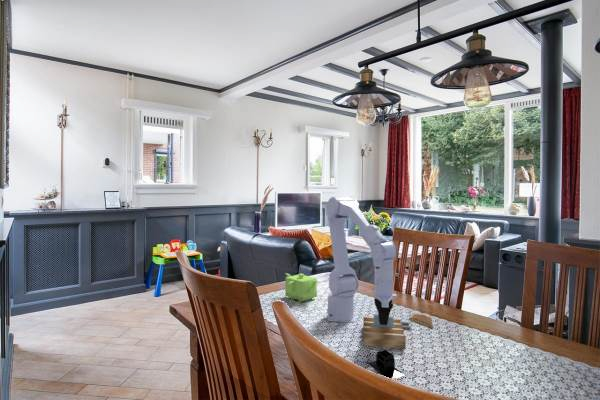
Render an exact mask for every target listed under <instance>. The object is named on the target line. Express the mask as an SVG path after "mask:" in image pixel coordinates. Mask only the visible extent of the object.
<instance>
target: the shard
mask: <svg viewBox="0 0 600 400" xmlns="http://www.w3.org/2000/svg"><path fill="white" fill-rule="evenodd" d="M409 320H410V321H412V322H415V323H418V324H420V325H422V326H425V327H428V328H430V329H434V328H433V327H434V325H433V318H432V317H431V316H429V315H426V314H420V313H419V314H418V313H412V314H411V316H410V317H409Z"/></svg>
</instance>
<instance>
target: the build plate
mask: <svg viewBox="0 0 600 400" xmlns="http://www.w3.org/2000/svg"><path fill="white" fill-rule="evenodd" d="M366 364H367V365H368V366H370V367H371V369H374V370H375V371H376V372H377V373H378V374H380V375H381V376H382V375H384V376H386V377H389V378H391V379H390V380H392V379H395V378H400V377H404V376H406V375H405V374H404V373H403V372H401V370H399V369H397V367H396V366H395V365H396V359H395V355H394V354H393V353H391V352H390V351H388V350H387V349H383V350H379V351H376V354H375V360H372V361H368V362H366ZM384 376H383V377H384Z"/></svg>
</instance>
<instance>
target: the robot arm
mask: <svg viewBox="0 0 600 400" xmlns="http://www.w3.org/2000/svg"><path fill="white" fill-rule="evenodd" d="M359 206H360V205H359V202H358V201H357V199H356V198H355V197H354V196H349V197H345V196H344V197H336V196H332V197H330V198H329V199H328V201H327V202H326V204H325V208H326V216H327V221H328V225H329V233H330V235H329V236H330V243H331V249H332V256H333V265H334V268H333V269H332V270H331V271H330V273H329V274H328V276H329V280H328V281H329V282H328V288H329V289H328V290H329V291H330V293H328V295H327V296H328V297H327V309H326V314H327V322H337V323H338V322H339V323H341V322H342V323H355V321H356V319H355V317H356V316H355V313H354V309H355V307H354V305H355V304H354V303H355V302H354V301H355V300H354V299H355V297H354V296H355V295H356V292H357V291H358V290H359V287H360V281H359V279H358V277H357V273H356V270H355V269H353V268H352V267H351V266H350V260H349V253H348V247H347V241H346V240H347V239H346V231H345V222H347V221H348V220H349V219H350V220H351V221H352V222H353V224H355V226H356V227H357V228H358V229H359V230H360V237H361V238H362V239H363V241H365V244H366V245H367V247H369V249H370V257H372V264H373V266H374V292H373V297H374V299H373V301H374V305H375V308H376V310H377V313H378V314H377V315H379V322H380V325H387V323H388V319H389V315H391V311H392V309H393V308H394V303H393V299H396V298H398V294H396V293H394V259H396V258H397V256H398V254H399V253H398V252H399V251H398V247H397V245H396V243H395V242H394V241H392V240H388V239H387V238H386V237H385V236H384V235H383V233H381V231H380V230H379V227H378V226H377V225H374V224H371V223H369V221H368V220H367V218H366V217H365V216H364V214H363V212H362V211H361V210H360V208H359Z"/></svg>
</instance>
